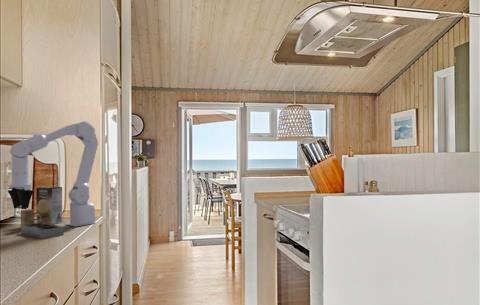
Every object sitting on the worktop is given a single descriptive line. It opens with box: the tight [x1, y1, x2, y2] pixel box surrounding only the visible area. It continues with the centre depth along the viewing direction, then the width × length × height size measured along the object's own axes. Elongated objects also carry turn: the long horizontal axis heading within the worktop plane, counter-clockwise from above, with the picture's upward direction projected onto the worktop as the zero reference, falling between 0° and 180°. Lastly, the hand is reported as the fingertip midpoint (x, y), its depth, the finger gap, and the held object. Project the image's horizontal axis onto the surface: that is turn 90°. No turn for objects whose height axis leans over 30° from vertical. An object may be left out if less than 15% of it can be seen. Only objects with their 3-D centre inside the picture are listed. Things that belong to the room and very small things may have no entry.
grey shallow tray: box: [21, 222, 65, 240], centre depth 139 cm, size 8×17×3 cm, turn 51°
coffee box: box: [35, 185, 63, 225], centre depth 163 cm, size 9×6×16 cm
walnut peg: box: [20, 208, 35, 231], centre depth 148 cm, size 4×4×8 cm
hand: (21, 207), depth 144 cm, fingers open, 7 cm apart
